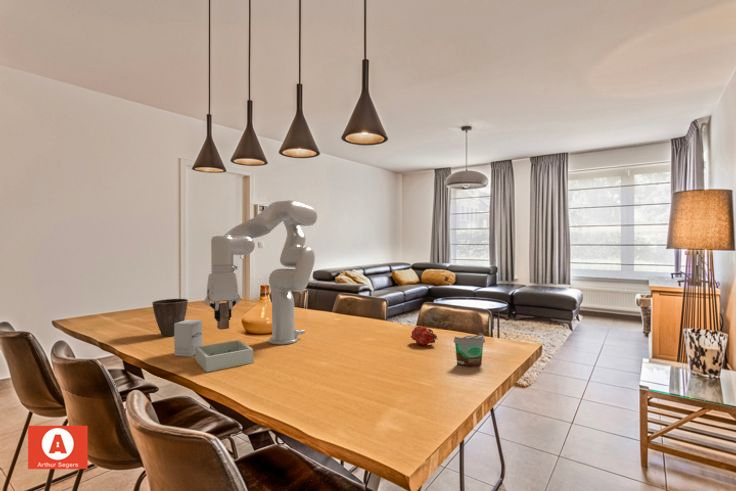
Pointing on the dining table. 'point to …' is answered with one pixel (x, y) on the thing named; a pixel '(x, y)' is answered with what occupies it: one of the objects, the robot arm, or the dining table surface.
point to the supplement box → (187, 337)
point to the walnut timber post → (223, 316)
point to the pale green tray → (223, 355)
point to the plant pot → (169, 314)
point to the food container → (469, 350)
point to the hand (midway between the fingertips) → (223, 319)
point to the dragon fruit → (423, 335)
